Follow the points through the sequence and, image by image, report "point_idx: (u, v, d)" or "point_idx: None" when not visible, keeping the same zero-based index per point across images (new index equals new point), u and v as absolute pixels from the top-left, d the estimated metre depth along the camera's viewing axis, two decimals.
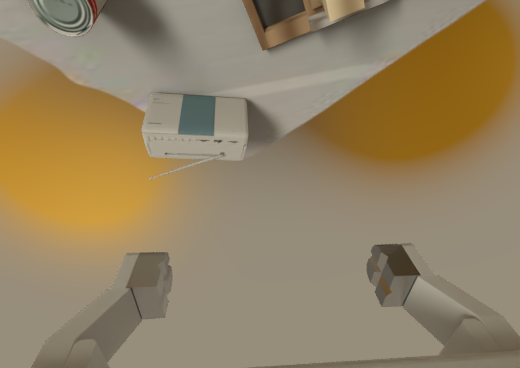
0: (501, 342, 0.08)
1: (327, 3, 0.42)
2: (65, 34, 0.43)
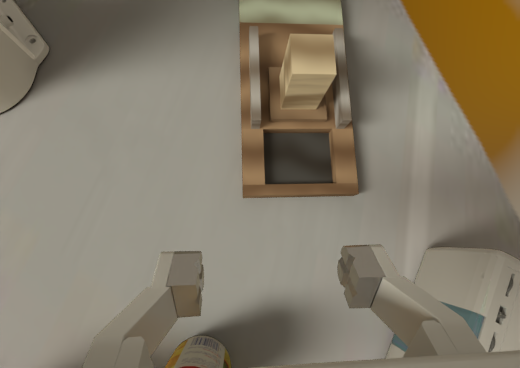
0: (458, 345, 0.08)
1: (313, 73, 0.33)
2: None
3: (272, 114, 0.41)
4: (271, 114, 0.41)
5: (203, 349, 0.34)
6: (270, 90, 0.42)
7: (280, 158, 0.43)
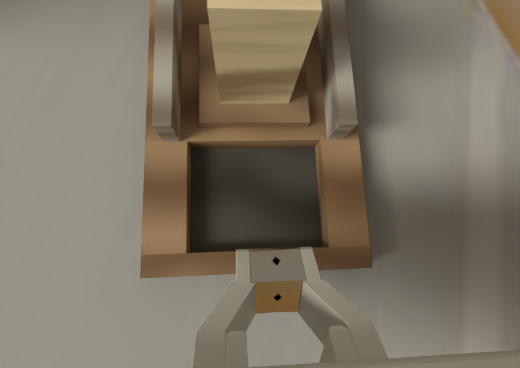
0: (360, 351, 0.08)
1: (262, 7, 0.13)
2: None
3: (203, 113, 0.21)
4: (201, 113, 0.21)
5: None
6: (201, 68, 0.22)
7: (223, 196, 0.23)
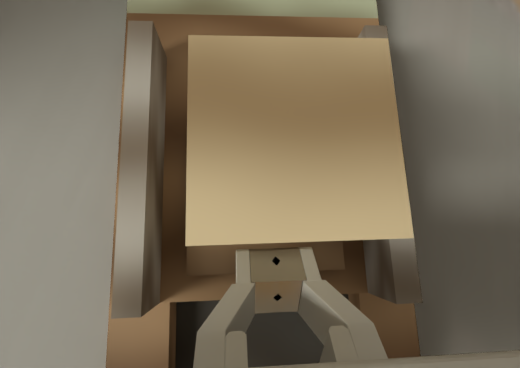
0: (360, 351, 0.08)
1: (295, 235, 0.06)
2: None
3: (192, 260, 0.15)
4: (189, 261, 0.15)
5: None
6: None
7: None
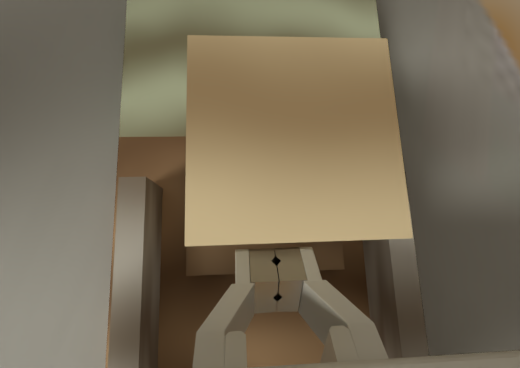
0: (361, 351, 0.08)
1: (294, 235, 0.06)
2: None
3: (192, 260, 0.15)
4: (189, 261, 0.15)
5: None
6: None
7: None
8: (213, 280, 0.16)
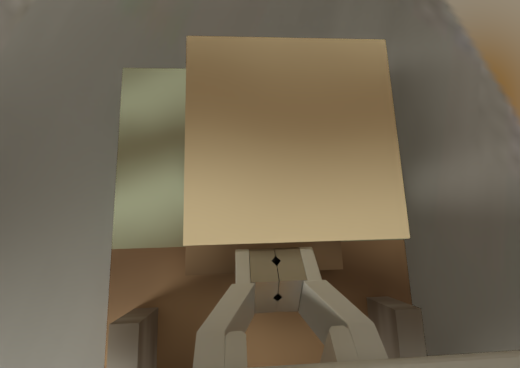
0: (361, 351, 0.08)
1: (292, 235, 0.07)
2: None
3: (191, 260, 0.15)
4: (188, 260, 0.15)
5: None
6: None
7: None
8: None
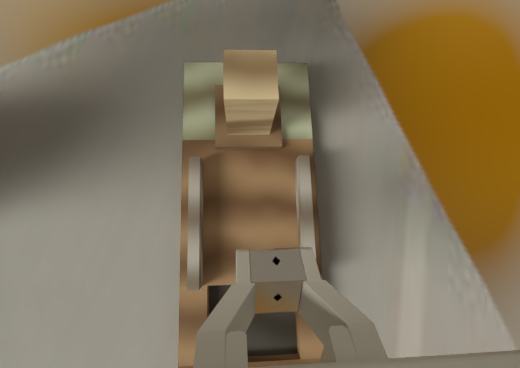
0: (360, 351, 0.08)
1: (249, 98, 0.27)
2: None
3: (217, 141, 0.35)
4: (216, 141, 0.35)
5: None
6: (216, 112, 0.36)
7: None
8: (226, 204, 0.35)
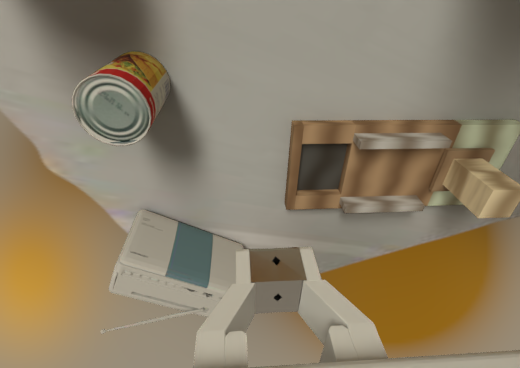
0: (360, 351, 0.08)
1: (486, 203, 0.43)
2: (96, 137, 0.33)
3: (452, 152, 0.48)
4: (452, 151, 0.48)
5: (163, 99, 0.38)
6: (473, 151, 0.48)
7: (322, 152, 0.49)
8: (402, 155, 0.49)
